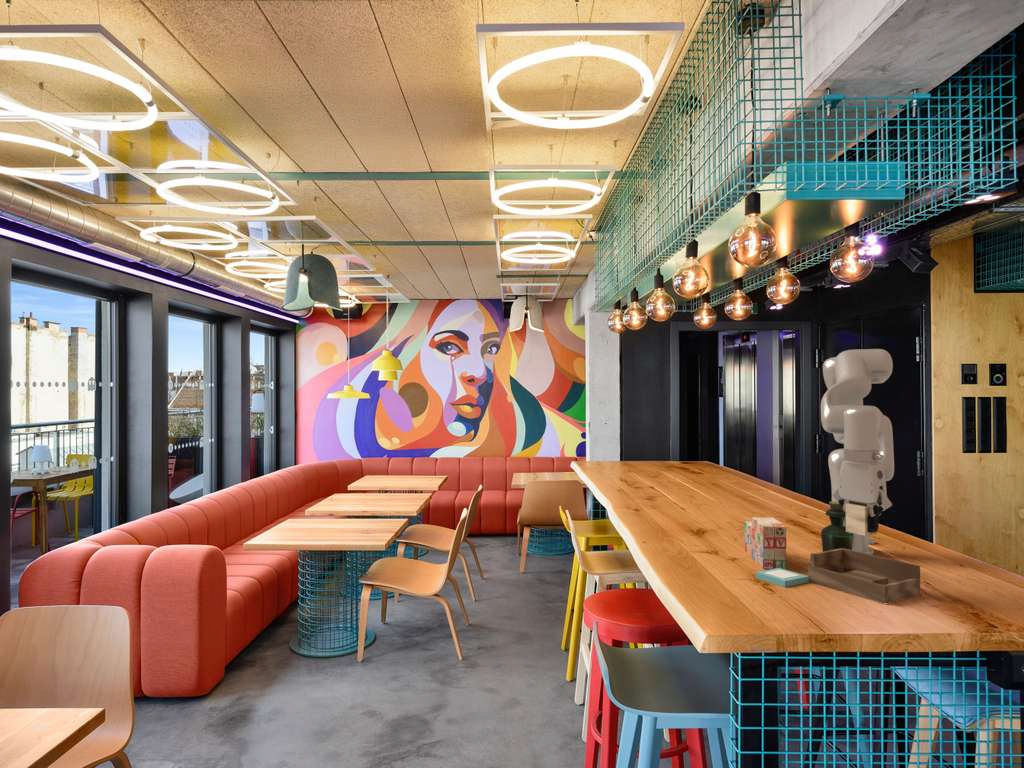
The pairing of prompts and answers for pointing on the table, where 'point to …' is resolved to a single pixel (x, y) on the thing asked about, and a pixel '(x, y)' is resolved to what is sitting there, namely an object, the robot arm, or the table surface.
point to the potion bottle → (836, 530)
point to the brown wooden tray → (865, 575)
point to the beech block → (857, 518)
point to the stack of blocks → (766, 542)
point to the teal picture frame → (782, 577)
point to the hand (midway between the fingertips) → (861, 528)
